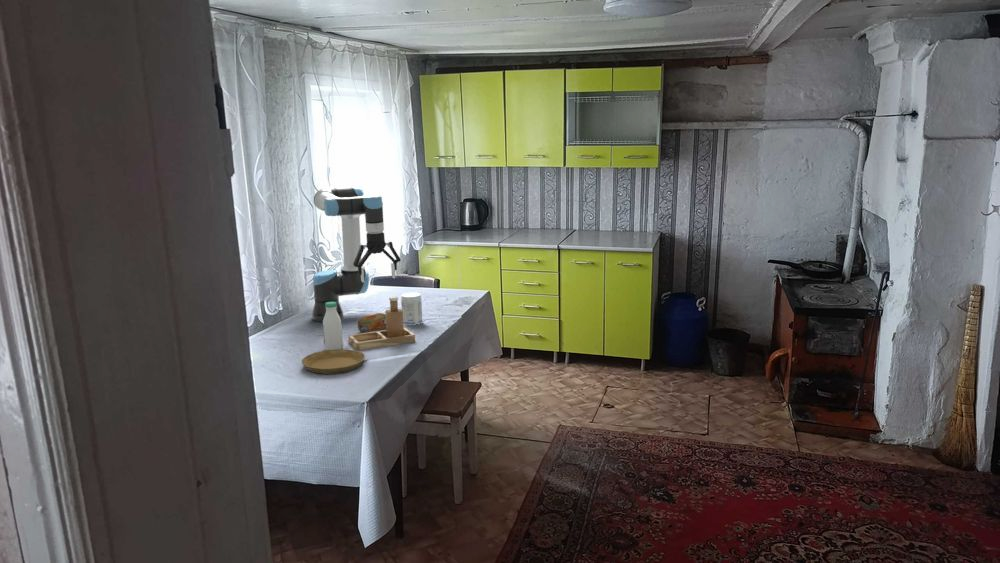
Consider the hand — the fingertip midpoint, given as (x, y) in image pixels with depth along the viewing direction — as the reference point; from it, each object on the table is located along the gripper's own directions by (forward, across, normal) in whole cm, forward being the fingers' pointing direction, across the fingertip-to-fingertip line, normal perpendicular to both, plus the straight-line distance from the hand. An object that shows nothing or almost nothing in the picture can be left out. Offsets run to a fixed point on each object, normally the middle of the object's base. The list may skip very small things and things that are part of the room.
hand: (378, 279), depth 291 cm
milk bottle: (+26, -22, -5) cm, 35 cm away
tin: (+28, -1, +11) cm, 31 cm away
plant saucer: (+25, -26, -28) cm, 45 cm away
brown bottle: (+26, +4, -8) cm, 27 cm away
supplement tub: (+29, +19, +15) cm, 38 cm away
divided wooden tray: (+26, -2, -9) cm, 28 cm away
